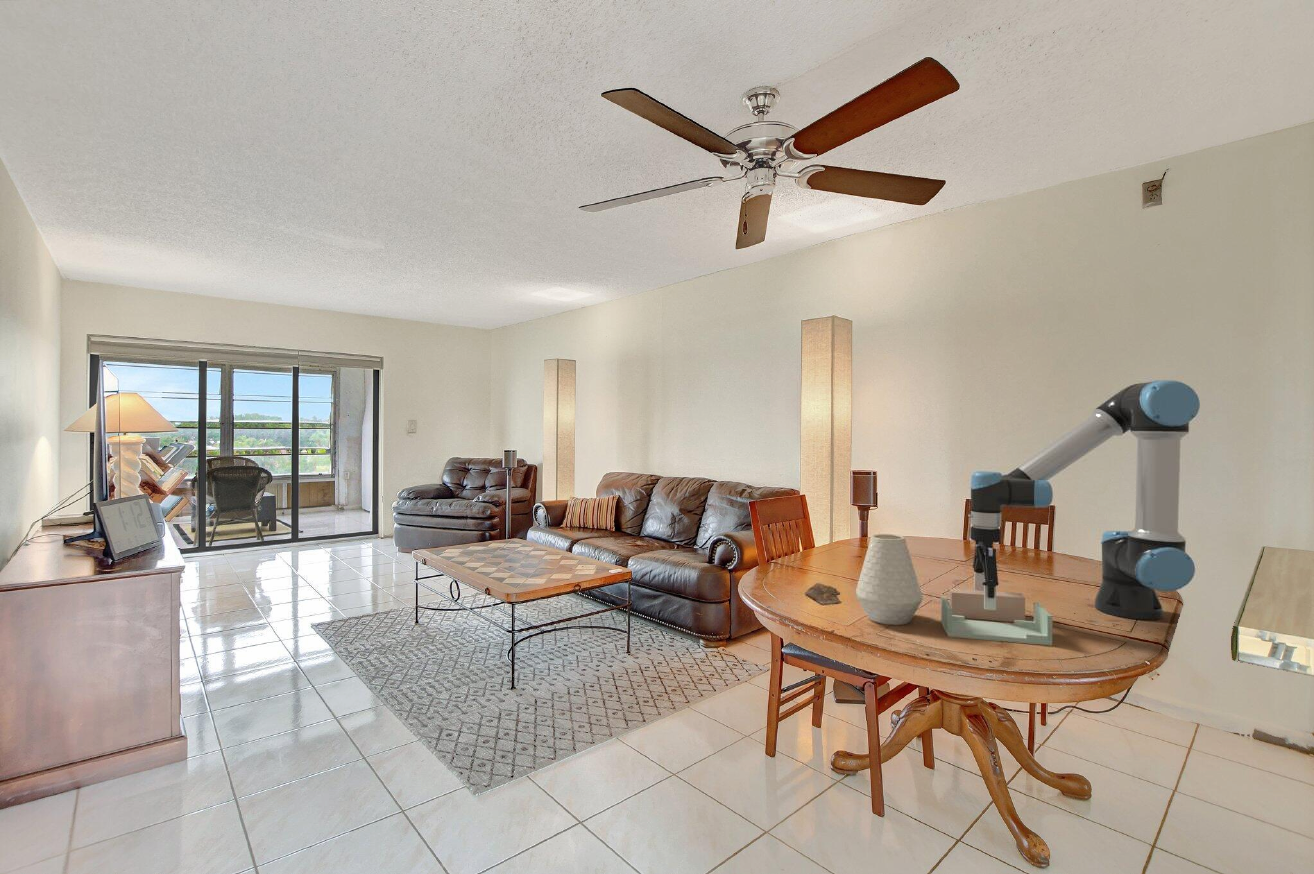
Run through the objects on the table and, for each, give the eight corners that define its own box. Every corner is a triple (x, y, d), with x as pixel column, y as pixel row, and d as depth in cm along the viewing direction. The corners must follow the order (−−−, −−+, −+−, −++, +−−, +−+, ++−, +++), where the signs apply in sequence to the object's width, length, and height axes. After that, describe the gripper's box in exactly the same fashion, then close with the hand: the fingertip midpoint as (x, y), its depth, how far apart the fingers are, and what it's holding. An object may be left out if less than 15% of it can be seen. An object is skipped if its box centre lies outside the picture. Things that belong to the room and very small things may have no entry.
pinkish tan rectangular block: (1021, 618, 164) (1020, 593, 164) (1025, 623, 160) (1025, 597, 160) (949, 612, 170) (949, 588, 170) (951, 617, 166) (951, 592, 166)
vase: (876, 631, 155) (875, 544, 154) (844, 611, 172) (844, 532, 172) (936, 626, 157) (935, 541, 157) (899, 607, 175) (899, 530, 174)
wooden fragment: (841, 607, 177) (841, 603, 177) (804, 604, 179) (804, 601, 179) (838, 585, 201) (838, 582, 201) (805, 583, 204) (805, 580, 204)
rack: (1038, 630, 154) (1038, 602, 154) (1052, 645, 143) (1052, 616, 143) (941, 622, 161) (941, 596, 161) (947, 636, 150) (947, 608, 150)
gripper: (962, 519, 178) (961, 589, 178) (979, 533, 154) (978, 614, 154) (990, 520, 175) (989, 591, 176) (1012, 535, 152) (1011, 617, 152)
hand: (984, 602), depth 165 cm, fingers open, 13 cm apart
